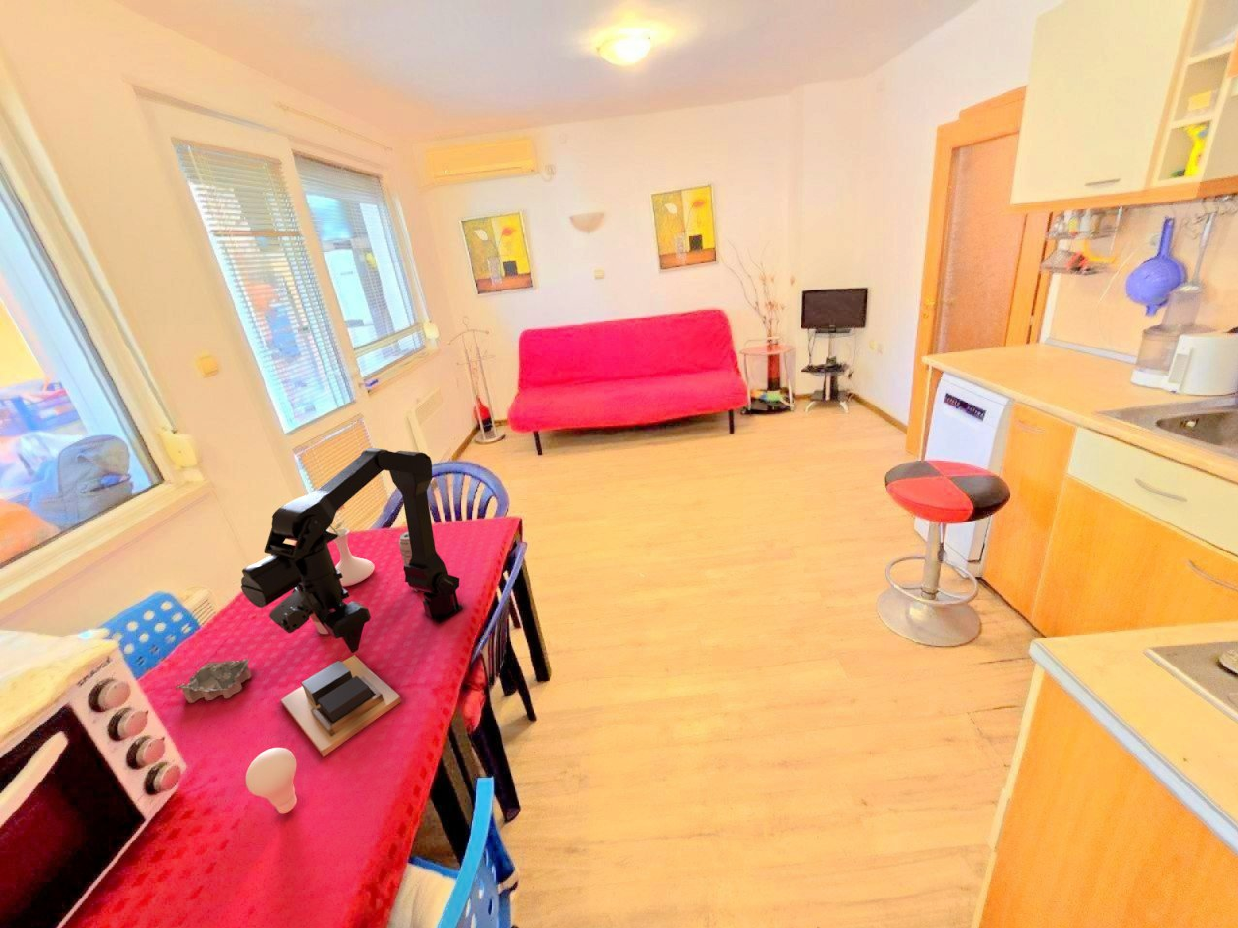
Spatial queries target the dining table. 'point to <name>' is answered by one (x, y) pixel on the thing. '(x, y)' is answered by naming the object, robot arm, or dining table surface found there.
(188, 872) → the dining table surface
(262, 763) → the lightbulb
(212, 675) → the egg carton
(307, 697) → the backing board
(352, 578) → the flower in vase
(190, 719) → the dining table surface
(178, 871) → the dining table surface
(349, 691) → the dark rectangular block
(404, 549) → the energy drink can
